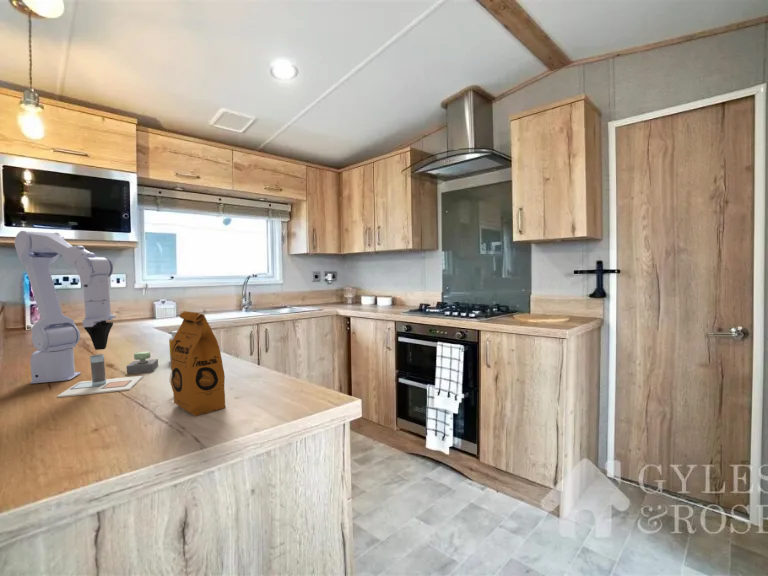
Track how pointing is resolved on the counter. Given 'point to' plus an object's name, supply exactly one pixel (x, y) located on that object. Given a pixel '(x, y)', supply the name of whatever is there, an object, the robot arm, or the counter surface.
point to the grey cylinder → (98, 370)
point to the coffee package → (197, 366)
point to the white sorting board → (102, 386)
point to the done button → (142, 356)
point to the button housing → (142, 366)
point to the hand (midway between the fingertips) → (100, 349)
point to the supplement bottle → (171, 340)
